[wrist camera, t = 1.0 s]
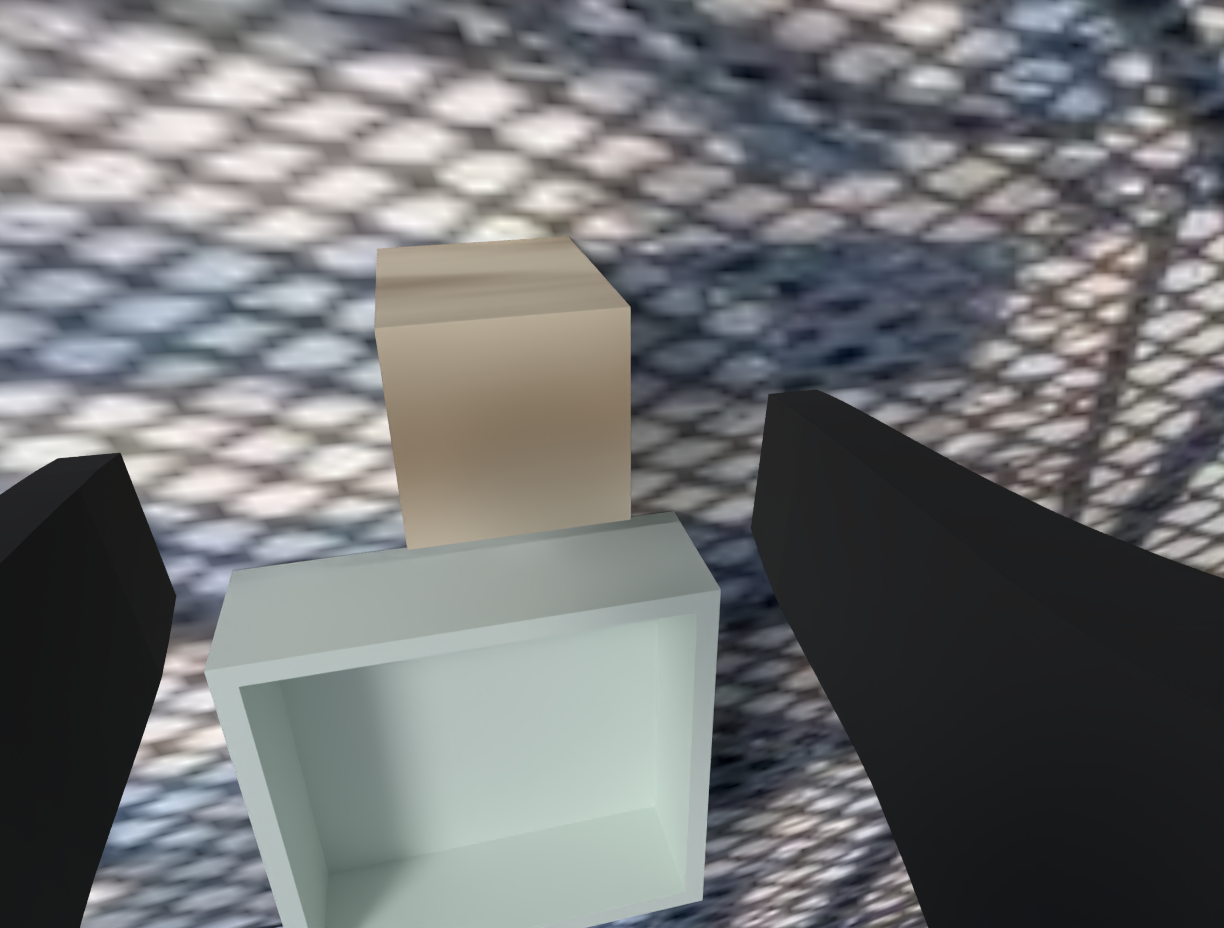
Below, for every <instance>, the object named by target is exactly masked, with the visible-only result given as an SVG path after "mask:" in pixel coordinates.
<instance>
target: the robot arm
mask: <svg viewBox="0 0 1224 928" xmlns="http://www.w3.org/2000/svg"><path fill="white" fill-rule="evenodd" d="M751 530H752V533H753V536H754V539H755V542H756V545H757V548H758V551H759V554H760V557H761V560H762V563H763V565H764V568H765V571H766V573H767V576H768V579H769V581H770V584H771V587H772V589H773V592H774V595H775V597H776V599H777V601H778V603H779V605H780V607H781V609H782V611H783V613H784V615H785V617H786V619H787V621H788V623H789V625H790V627H791V629H792V631H793V632H794V634H795V636H796V638H797V640H798V642H799V644H800V646H801V648H802V650H803V652H804V654H805V655H806V657H807V659H808V661H809V663H810V665H811V667H812V669H813V670H814V672H815V674H816V676H817V678H818V680H819V682H820V684H821V686H822V687H823V689H824V691H825V693H826V695H827V697H828V699H829V701H830V702H831V704H832V706H833V708H834V710H835V712H836V714H837V716H838V718H839V719H840V721H841V723H842V725H843V727H844V729H845V731H846V733H847V734H848V736H849V738H850V740H851V742H852V744H853V746H854V748H855V750H856V752H857V754H858V756H859V758H860V760H861V762H862V764H863V766H864V768H865V771H866V773H867V775H868V777H869V779H870V781H871V783H872V785H873V788H874V790H875V793H876V795H877V797H878V800H879V802H880V805H881V807H882V810H883V812H884V815H885V817H886V820H887V822H888V825H889V827H890V830H891V832H892V835H893V837H894V840H895V842H896V845H897V847H898V849H899V852H900V854H901V857H902V859H903V862H904V864H905V867H906V870H907V872H908V875H909V878H910V880H911V883H912V886H913V888H914V891H915V893H916V896H917V899H918V901H919V904H920V907H921V909H922V912H923V915H924V917H925V920H926V923H927V925H928V928H1224V578H1221V577H1218V576H1215V575H1212V574H1209V573H1206V572H1203V571H1200V570H1198V569H1195V568H1192V567H1189V566H1186V565H1184V564H1181V563H1178V562H1175V561H1173V560H1170V559H1167V558H1164V557H1162V556H1159V555H1157V554H1154V553H1152V552H1149V551H1147V550H1144V549H1142V548H1139V547H1137V546H1134V545H1132V544H1129V543H1127V542H1124V541H1122V540H1119V539H1117V538H1114V537H1112V536H1109V535H1107V534H1104V533H1102V532H1099V531H1097V530H1094V529H1092V528H1090V527H1087V526H1085V525H1083V524H1080V523H1078V522H1076V521H1074V520H1071V519H1069V518H1067V517H1064V516H1062V515H1060V514H1058V513H1056V512H1054V511H1051V510H1049V509H1047V508H1045V507H1043V506H1041V505H1039V504H1037V503H1035V502H1033V501H1031V500H1029V499H1026V498H1024V497H1022V496H1020V495H1018V494H1016V493H1014V492H1012V491H1010V490H1008V489H1006V488H1004V487H1001V486H999V485H998V484H996V483H994V482H992V481H990V480H988V479H986V478H984V477H982V476H980V475H978V474H976V473H974V472H972V471H970V470H968V469H966V468H965V467H963V466H961V465H959V464H957V463H955V462H953V461H951V460H950V459H948V458H946V457H944V456H942V455H940V454H938V453H937V452H935V451H933V450H931V449H929V448H927V447H926V446H924V445H922V444H920V443H918V442H917V441H915V440H913V439H911V438H909V437H907V436H906V435H904V434H902V433H900V432H898V431H897V430H895V429H893V428H891V427H889V426H888V425H886V424H884V423H882V422H880V421H879V420H877V419H875V418H873V417H871V416H869V415H868V414H866V413H864V412H862V411H860V410H858V409H856V408H855V407H853V406H851V405H849V404H847V403H845V402H843V401H841V400H839V399H837V398H835V397H833V396H831V395H828V394H826V393H824V392H821V391H819V390H808V391H797V392H786V393H775V394H769V395H768V403H767V410H766V418H765V426H764V433H763V441H762V448H761V456H760V463H759V471H758V479H757V486H756V494H755V501H754V509H753V517H752V524H751ZM175 600H176V594H175V592H174V589H173V587H172V584H171V581H170V579H169V576H168V574H167V571H166V569H165V566H164V563H163V561H162V558H161V556H160V553H159V551H158V548H157V545H156V543H155V540H154V538H153V535H152V533H151V530H150V527H149V525H148V522H147V520H146V517H145V515H144V512H143V510H142V507H141V504H140V502H139V499H138V497H137V494H136V492H135V489H134V486H133V484H132V481H131V479H130V476H129V474H128V471H127V468H126V466H125V463H124V461H123V458H122V456H121V453H112V454H101V455H90V456H79V457H68V458H58V459H56V460H54V461H53V462H51V463H49V464H47V465H45V466H44V467H42V468H40V469H39V470H37V471H35V472H34V473H32V474H31V475H29V476H28V477H26V478H24V479H23V480H21V481H20V482H18V483H17V484H15V485H14V486H12V487H11V488H10V489H8V490H7V491H5V492H4V493H2V494H1V495H0V928H80V925H81V921H82V918H83V914H84V911H85V908H86V904H87V901H88V897H89V894H90V891H91V887H92V884H93V880H94V877H95V874H96V871H97V868H98V865H99V862H100V859H101V856H102V853H103V850H104V848H105V845H106V842H107V839H108V836H109V833H110V830H111V827H112V824H113V821H114V818H115V815H116V812H117V810H118V807H119V804H120V801H121V798H122V795H123V792H124V789H125V786H126V783H127V780H128V777H129V775H130V772H131V769H132V766H133V763H134V760H135V757H136V754H137V751H138V748H139V745H140V742H141V739H142V736H143V733H144V730H145V727H146V724H147V721H148V718H149V715H150V712H151V709H152V706H153V703H154V700H155V697H156V694H157V691H158V688H159V685H160V681H161V678H162V674H163V668H164V663H165V658H166V653H167V648H168V643H169V637H170V631H171V625H172V618H173V612H174V606H175ZM276 928H283V926H281V927H276Z"/></svg>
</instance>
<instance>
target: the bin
mask: <svg viewBox="0 0 1224 928" xmlns="http://www.w3.org/2000/svg"><path fill="white" fill-rule="evenodd" d="M720 595H721V589H720V587H719V586H718V584H717V582H716V581H715V579H714V577H713V576H712V574H711V572H710V571H709V569H708V567H707V566H706V564H705V562H704V561H703V559H702V557H701V556H700V554H699V552H698V551H697V549H696V547H695V546H694V544H693V542H692V541H691V539H690V537H689V536H688V534H687V532H686V531H685V529H684V527H683V526H682V524H681V522H680V521H679V519H678V517H677V516H676V514H675V512H674V511H670V512H663V513H655V514H648V515H641V516H633V517H631V520H624V521H616V522H609V523H602V524H594V525H587V526H580V527H572V528H565V529H558V530H551V531H543V532H536V533H529V534H521V535H514V536H507V537H499V538H492V539H485V540H477V541H470V542H463V543H455V544H448V545H441V546H433V547H426V548H419V549H412V550H407V547H405V548H398V549H391V550H383V551H376V552H369V553H361V554H354V555H347V556H339V557H332V558H324V559H317V560H310V561H302V562H295V563H288V564H280V565H273V566H266V567H258V568H251V569H244V570H236V571H232V574H231V578H230V581H229V585H228V589H227V592H226V596H225V599H224V603H223V606H222V610H221V613H220V617H219V620H218V624H217V627H216V631H215V634H214V638H213V642H212V645H211V649H210V652H209V656H208V659H207V663H206V666H205V670H204V672H205V676H206V679H207V682H208V685H209V688H210V692H211V695H212V698H213V701H214V705H215V708H216V711H217V714H218V718H219V721H220V724H221V727H222V730H223V734H224V737H225V740H226V743H227V747H228V750H229V753H230V756H231V760H232V763H233V766H234V769H235V773H236V776H237V779H238V782H239V785H240V789H241V792H242V795H243V798H244V802H245V805H246V808H247V811H248V815H249V818H250V821H251V824H252V828H253V831H254V834H255V837H256V840H257V844H258V847H259V850H260V853H261V857H262V860H263V863H264V866H265V870H266V873H267V876H268V879H269V883H270V886H271V889H272V892H273V895H274V899H275V902H276V905H277V908H278V912H279V915H280V918H281V921H282V925H283V928H587V927H591V926H595V925H599V924H604V923H608V922H612V921H616V920H621V919H625V918H629V917H633V916H637V915H642V914H646V913H650V912H654V911H659V910H663V909H667V908H671V907H676V906H680V905H684V904H688V903H693V902H697V901H701V900H702V897H703V880H704V863H705V847H706V830H707V813H708V796H709V780H710V763H711V746H712V729H713V712H714V696H715V679H716V662H717V645H718V628H719V612H720Z"/></svg>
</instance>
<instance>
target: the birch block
mask: <svg viewBox="0 0 1224 928" xmlns="http://www.w3.org/2000/svg"><path fill="white" fill-rule="evenodd" d="M374 329H375V336H376V342H377V349H378V356H379V362H380V369H381V376H382V382H383V389H384V396H385V402H386V409H387V416H388V423H389V429H390V436H391V443H392V449H393V456H394V463H395V469H396V476H397V483H398V489H399V496H400V503H401V509H402V516H403V523H404V530H405V536H406V543H407V550H412V549H419V548H426V547H433V546H441V545H448V544H455V543H463V542H470V541H477V540H485V539H492V538H499V537H507V536H514V535H521V534H529V533H536V532H543V531H551V530H558V529H565V528H572V527H580V526H587V525H594V524H602V523H609V522H616V521H624V520H631V307H630V306H629V305H628V303H627V302H626V301H625V300H624V299H623V298H622V297H621V295H620V294H619V293H618V292H617V291H616V290H615V289H614V288H613V286H612V285H611V284H610V283H609V282H608V281H607V280H606V279H605V277H604V276H603V275H602V274H601V273H600V272H599V271H598V270H597V268H596V267H595V266H594V265H593V264H592V263H591V262H590V260H589V259H588V258H587V257H586V256H585V255H584V254H583V253H582V251H581V250H580V249H579V248H578V247H577V246H576V245H575V244H574V242H573V241H572V240H571V239H570V238H569V237H568V236H566V237H551V238H535V239H520V240H504V241H489V242H474V243H458V244H443V245H427V246H412V247H396V248H381V249H377V270H376V297H375V325H374Z"/></svg>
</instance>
